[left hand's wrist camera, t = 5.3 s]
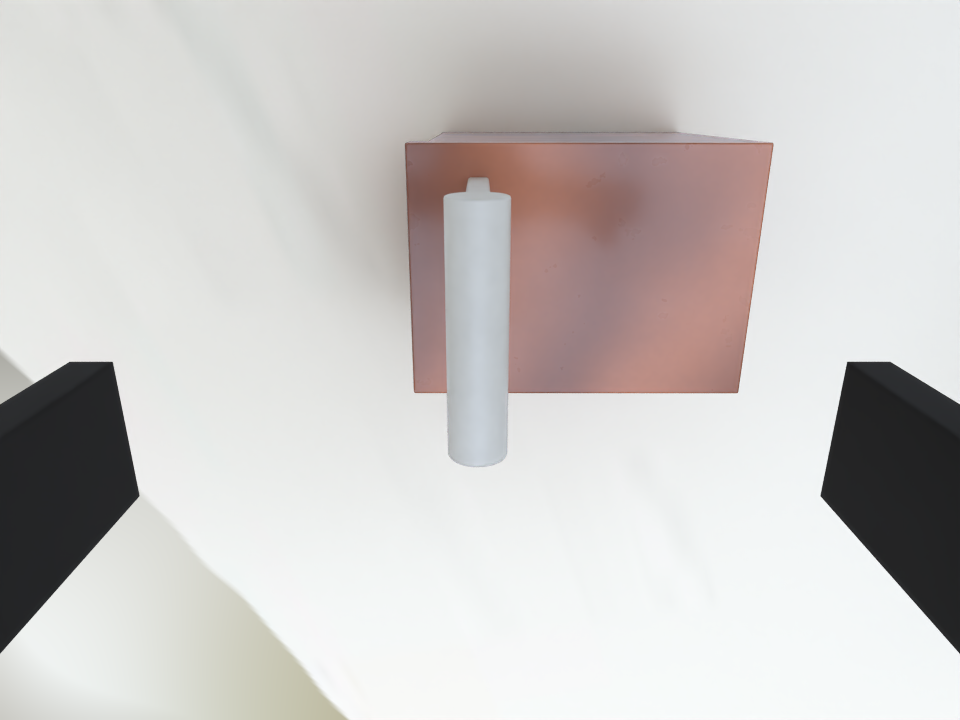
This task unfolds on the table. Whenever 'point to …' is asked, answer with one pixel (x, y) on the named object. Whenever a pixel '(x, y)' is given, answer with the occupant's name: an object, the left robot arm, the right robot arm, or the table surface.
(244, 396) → the table surface
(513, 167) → the lid
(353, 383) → the table surface
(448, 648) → the table surface
